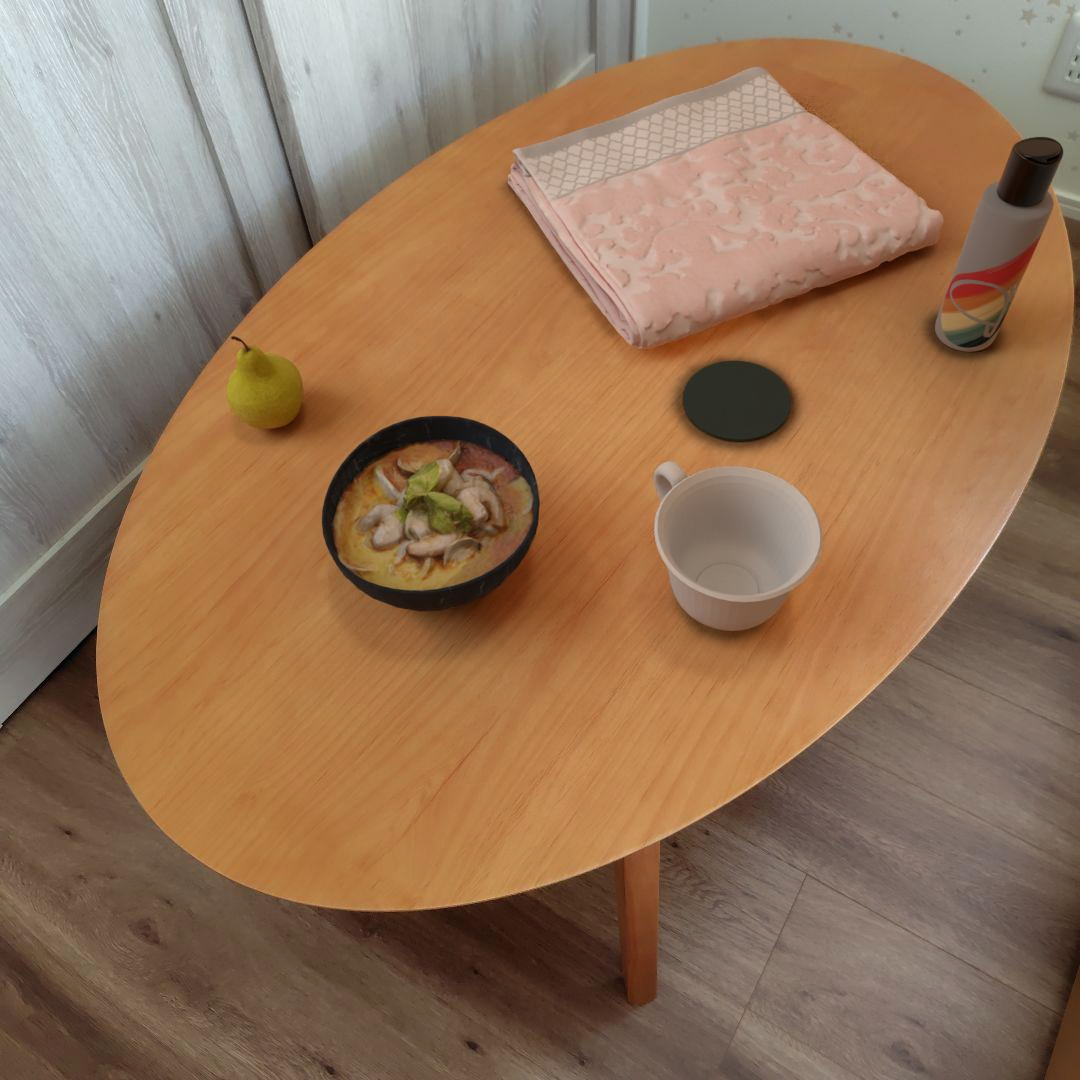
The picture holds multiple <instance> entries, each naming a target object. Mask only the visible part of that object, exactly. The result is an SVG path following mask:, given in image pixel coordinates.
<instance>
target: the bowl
mask: <svg viewBox="0 0 1080 1080" xmlns="http://www.w3.org/2000/svg"><path fill="white" fill-rule="evenodd" d="M540 506H541V501H540V492H539V485H538V482H537V478H536V474H535V472H534V470H533V467H532V465H531V463H530V461H529V459H528V457H526V455H525V454H524V452H523V451H522V450H521V449H520V448H519V447H518V446H517V444H516V443H515V442H514V441H512V440H511V439H510V438H509V437H507V436H506V435H505V434H503V433H502V432H501V431H499V430H497V429H496V428H494V427H492V426H490V425H487V424H486V423H484V422H480V421H477V420H475V419H471V418H466V417H461V416H451V415H428V416H418V417H413V418H409V419H405V420H401V421H399V422H396V423H393V424H391V425H389V426H386V427H384V428H382V429H380V430H378V431H377V432H375V433H374V434H372V435H370V436H368V438H366V439H365V440H364V441H362V442H360V443H359V444H358V445H357V446H356V448H354V449H353V450H352V451H351V452H350V453H349V454H348V455H347V457H345V459H344V461H342V463H341V464H340V465H339V467H338V469H337V470H336V472H335V473H334V475H333V477H332V479H331V481H330V483H329V485H328V488H327V490H326V494H325V496H324V501H323V505H322V511H321V528H322V536H323V539H324V543H325V545H326V548H327V550H328V553H329V555H330V557H331V558H332V561H333V562H334V563H335V565H336V567H337V568H338V569H339V571H340V572H341V574H342V575H343V576H344V578H346V579H347V580H348V581H349V582H350V583H352V584H353V586H355V587H356V588H357V589H358V590H359V591H361V593H364V594H366V596H368V597H370V598H372V599H373V600H376V601H378V602H381V603H384V604H386V605H388V606H391V607H394V608H397V609H403V610H408V611H415V612H442V611H447V610H451V609H455V608H460V607H464V606H467V605H469V604H471V603H473V602H476V601H478V600H481V599H484V597H486V596H487V595H489V594H490V593H492V592H493V591H494V590H496V589H497V588H499V587H500V586H501V585H502V584H504V582H505V581H506V580H508V579H509V578H510V577H511V575H512V574H513V573H514V572H515V571H516V570H517V569H518V568H519V566H520V564H521V563H522V562H523V560H524V559H525V557H526V555H527V554H528V552H529V550H530V548H531V546H532V543H533V542H534V540H535V537H536V534H537V530H538V527H539V520H540V519H539V518H540V508H541V507H540Z"/></svg>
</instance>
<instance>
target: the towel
mask: <svg viewBox="0 0 1080 1080" xmlns="http://www.w3.org/2000/svg"><path fill="white" fill-rule="evenodd" d="M511 152H512V155H513V156H514V158H515V161H514V162H513V163H512V164H511V166H510V171H511V172H510V173H509V174H507V184H508V185H509V186H510V188H511V189H512V190H513V191H514V193H515V194H516V195H517V197H518V198H519V199H520V200H521V202H522V203H523V205H525V207H526V208H527V210H528V211H529V213H530V214H531V216H532V217H533V219H534V220H535V223H536V224H537V225H538V226H539V228H540V229H541V231H542V233H543V234H544V236H545V237H546V239H547V240H548V242H549V243H550V244H551V246H552V247H553V249H554V250H555V252H556V253H557V254H558V256H559V257H560V259H561V260H562V262H563V263H564V264H565V265H566V267H567V268H568V270H569V272H570V273H571V274H572V275H573V277H574V278H575V279H576V281H577V282H578V283H579V285H580V286H581V287H582V289H583V290H584V291H585V293H587V295H588V296H589V298H590V299H591V301H592V302H593V303H594V304H595V306H596V307H597V308H598V309H599V311H600V312H601V313H602V315H603V316H604V317H605V318H606V319H607V321H608V322H609V323H610V325H611V326H613V328H614V329H615V331H616V332H617V334H618V335H619V336H620V337H622V339H623V340H624V341H625V342H626V343H627V344H629V346H632V347H634V348H636V349H639V350H642V349H645V350H647V351H648V350H650V349H652V348H657V347H660V346H664V345H666V344H667V343H672V342H676V341H680V340H682V339H685V338H687V337H689V336H694V335H697V334H699V333H702V332H704V331H706V330H708V329H711V328H714V327H716V326H718V325H719V324H722V323H725V322H728V321H731V320H733V319H735V318H740V317H743V316H745V315H748V314H751V313H754V312H757V311H759V310H762V309H765V308H767V307H768V306H771V305H774V306H775V305H777V304H780V303H782V302H783V301H784V300H786V299H787V300H788V299H792V298H795V297H799V296H801V295H805V294H806V293H808V292H810V291H811V290H812V289H815V288H823V287H828V286H830V285H833V284H835V283H839V282H840V281H844V280H846V279H849V278H852V277H855V276H858V275H862V274H864V273H867V272H869V271H871V270H874V269H875V268H878V267H880V265H881V264H882V263H885V262H886V261H887V262H891V261H893V260H895V259H897V258H898V257H901V256H903V255H905V254H906V253H908V252H909V253H910V252H916V251H918V250H921V249H923V248H925V247H931V246H933V245H936V243H937V242H938V241H939V238H940V236H941V231H942V230H941V229H942V226H943V225H944V223H945V221H944V217H943V214H942V213H941V212H940V210H939V209H938V210H937V209H933V208H929V207H928V205H927V203H926V202H927V201H926V200H924V199H923V198H922V197H921V196H919V195H917V193H916V192H915V191H914V190H913V189H912V188H910V187H909V186H907V185H906V184H904V183H903V182H902V181H901V180H899V178H897V177H896V176H895V175H894V174H892V172H890V171H888V170H887V169H885V168H884V167H883V166H882V165H881V164H880V163H879V162H877V161H876V160H874V159H873V158H872V157H870V156H869V154H867V153H865V152H864V151H862V149H860V148H859V147H858V146H857V144H855V143H854V142H853V141H851V140H850V139H848V138H847V137H846V136H845V135H844V134H843V133H842V132H840V131H839V130H838V129H836V128H835V127H833V126H831V125H830V124H828V123H827V122H826V121H824V120H822V118H819V117H818V116H817V115H815V114H813V113H810V112H808V111H807V109H805V108H804V107H803V106H802V105H801V104H800V103H799V102H798V101H797V100H796V99H795V98H794V97H793V96H792V95H790V93H789V92H788V91H787V90H786V89H785V88H784V87H783V86H782V85H781V84H780V83H779V82H778V81H777V80H776V79H775V78H774V77H773V75H772V74H771V73H770V72H769V70H767V69H766V68H764V67H761V66H754V67H749V68H746V69H743V70H740V71H739V72H737V73H735V74H734V75H732V76H730V77H728V78H725V79H722V80H720V81H718V82H715V83H712V84H710V85H709V84H708V85H707V86H704V87H700V88H697V89H693V90H690V91H686V92H683V93H679V94H675V95H673V96H669V97H666V98H664V99H661V100H659V101H656V102H654V103H651V104H648V105H645V106H642V107H641V108H638V109H635V110H633V111H631V112H629V113H627V114H626V113H625V114H623V115H621V116H618V117H615V118H612V119H609V120H606V121H603V122H600V123H596V124H594V125H593V124H592V125H590V126H587V127H583V128H580V129H577V130H575V131H572V132H569V133H566V134H563V135H560V136H556V137H554V138H551V139H548V140H546V141H542V142H538V143H534V144H530V145H527V146H522V147H516V148H515V149H513V150H512V151H511Z"/></svg>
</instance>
